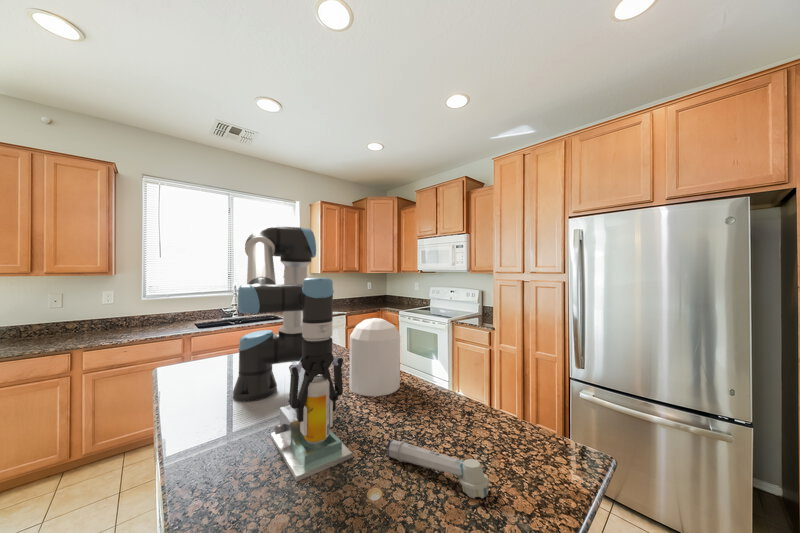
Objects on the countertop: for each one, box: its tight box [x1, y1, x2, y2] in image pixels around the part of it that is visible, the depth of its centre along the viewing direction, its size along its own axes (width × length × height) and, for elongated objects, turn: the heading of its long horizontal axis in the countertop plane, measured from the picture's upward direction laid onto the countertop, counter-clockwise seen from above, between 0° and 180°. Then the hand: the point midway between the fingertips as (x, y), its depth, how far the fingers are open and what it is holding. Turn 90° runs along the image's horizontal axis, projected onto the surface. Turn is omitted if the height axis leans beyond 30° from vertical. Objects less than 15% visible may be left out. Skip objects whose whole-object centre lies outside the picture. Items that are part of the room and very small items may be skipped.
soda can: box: [304, 374, 330, 444], centre depth 74 cm, size 6×6×15 cm
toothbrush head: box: [386, 439, 490, 499], centre depth 68 cm, size 5×7×25 cm
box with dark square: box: [270, 404, 353, 483], centre depth 78 cm, size 22×14×10 cm, turn 38°
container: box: [348, 317, 401, 397], centre depth 121 cm, size 21×21×28 cm
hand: (316, 428), depth 74 cm, fingers closed on soda can, 6 cm apart
